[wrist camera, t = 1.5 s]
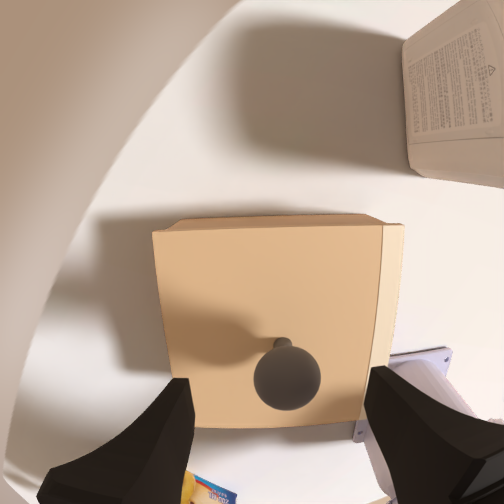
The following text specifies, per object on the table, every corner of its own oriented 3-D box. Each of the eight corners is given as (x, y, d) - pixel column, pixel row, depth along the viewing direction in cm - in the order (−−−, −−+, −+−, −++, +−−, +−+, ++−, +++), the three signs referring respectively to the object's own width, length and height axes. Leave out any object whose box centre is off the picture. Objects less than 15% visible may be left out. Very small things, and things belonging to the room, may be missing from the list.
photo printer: (452, 182, 20) (585, 203, 8) (402, 177, 20) (536, 194, 8) (443, 50, 17) (552, -6, 5) (393, 38, 17) (492, -44, 5)
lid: (373, 411, 18) (396, 466, 14) (184, 420, 19) (169, 478, 14) (399, 223, 15) (451, 245, 11) (155, 230, 16) (114, 255, 11)
